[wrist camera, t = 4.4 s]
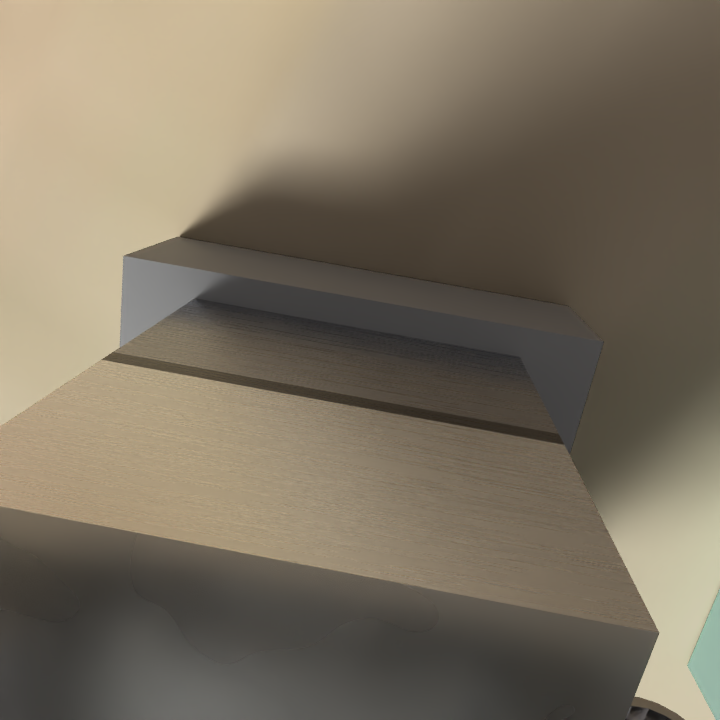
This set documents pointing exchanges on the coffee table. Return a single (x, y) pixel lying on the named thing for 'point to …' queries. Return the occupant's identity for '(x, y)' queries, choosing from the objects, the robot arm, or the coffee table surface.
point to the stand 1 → (370, 310)
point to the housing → (305, 536)
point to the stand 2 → (709, 660)
